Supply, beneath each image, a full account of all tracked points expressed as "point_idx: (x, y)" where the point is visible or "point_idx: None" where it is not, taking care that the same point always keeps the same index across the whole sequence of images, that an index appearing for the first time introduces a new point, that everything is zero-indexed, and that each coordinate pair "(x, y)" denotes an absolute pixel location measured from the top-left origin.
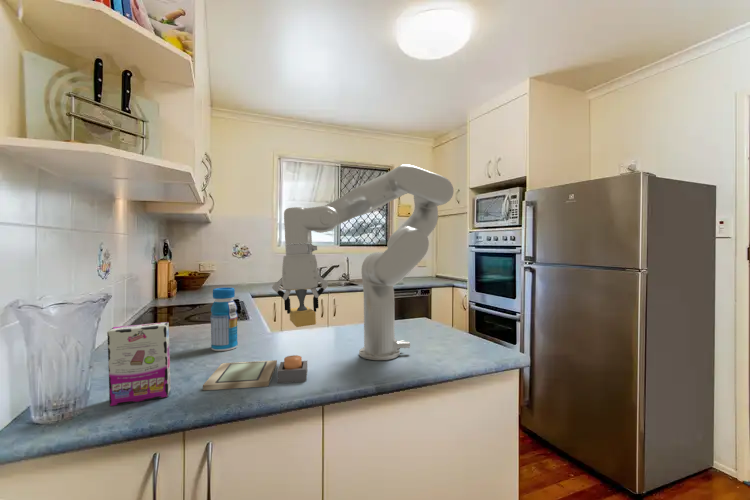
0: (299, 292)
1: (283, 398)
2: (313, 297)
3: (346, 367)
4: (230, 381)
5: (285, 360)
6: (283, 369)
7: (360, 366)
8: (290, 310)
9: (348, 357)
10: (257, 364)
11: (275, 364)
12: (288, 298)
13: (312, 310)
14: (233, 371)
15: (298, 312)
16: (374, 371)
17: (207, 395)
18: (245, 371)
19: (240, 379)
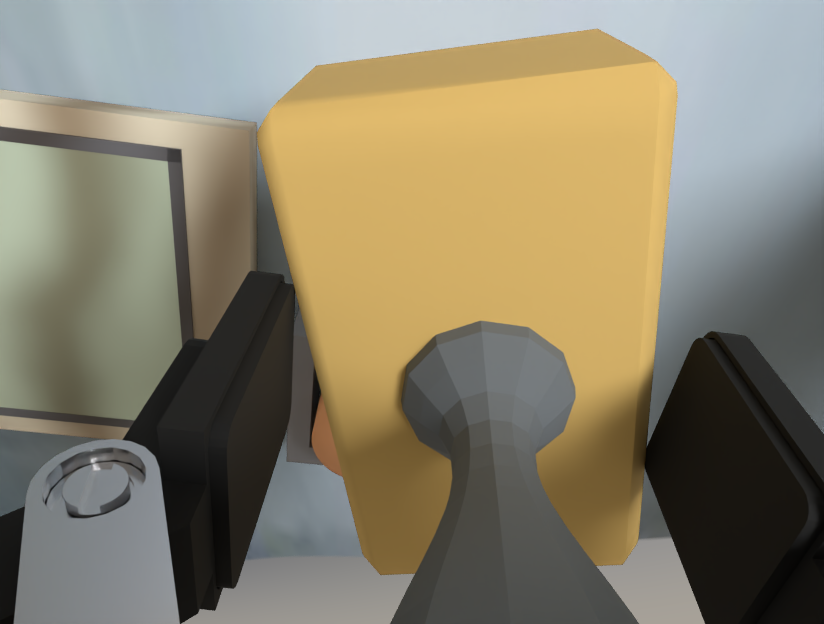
0: None
1: (334, 542)
2: (793, 551)
3: (696, 311)
4: (61, 420)
5: (321, 459)
6: (315, 375)
7: (781, 318)
8: (290, 312)
9: (810, 117)
10: (123, 197)
11: (251, 201)
12: (204, 591)
13: (621, 505)
14: (8, 286)
15: (413, 532)
16: (805, 404)
17: (9, 455)
18: (86, 305)
19: (103, 408)
